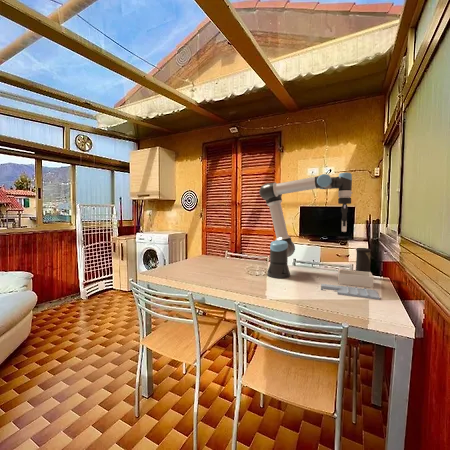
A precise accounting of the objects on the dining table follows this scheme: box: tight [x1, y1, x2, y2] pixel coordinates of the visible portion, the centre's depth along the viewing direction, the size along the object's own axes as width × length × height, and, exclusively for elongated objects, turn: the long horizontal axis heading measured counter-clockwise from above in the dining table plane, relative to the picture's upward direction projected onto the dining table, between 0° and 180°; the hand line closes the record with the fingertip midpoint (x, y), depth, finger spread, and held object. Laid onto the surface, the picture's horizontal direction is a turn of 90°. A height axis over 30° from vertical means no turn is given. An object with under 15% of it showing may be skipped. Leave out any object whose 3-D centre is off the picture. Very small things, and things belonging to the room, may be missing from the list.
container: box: [355, 247, 372, 272], centre depth 164 cm, size 9×9×20 cm
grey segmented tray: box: [320, 283, 381, 301], centre depth 135 cm, size 28×13×2 cm, turn 66°
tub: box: [337, 268, 375, 289], centre depth 149 cm, size 18×12×7 cm, turn 66°
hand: (343, 230), depth 159 cm, fingers open, 13 cm apart
